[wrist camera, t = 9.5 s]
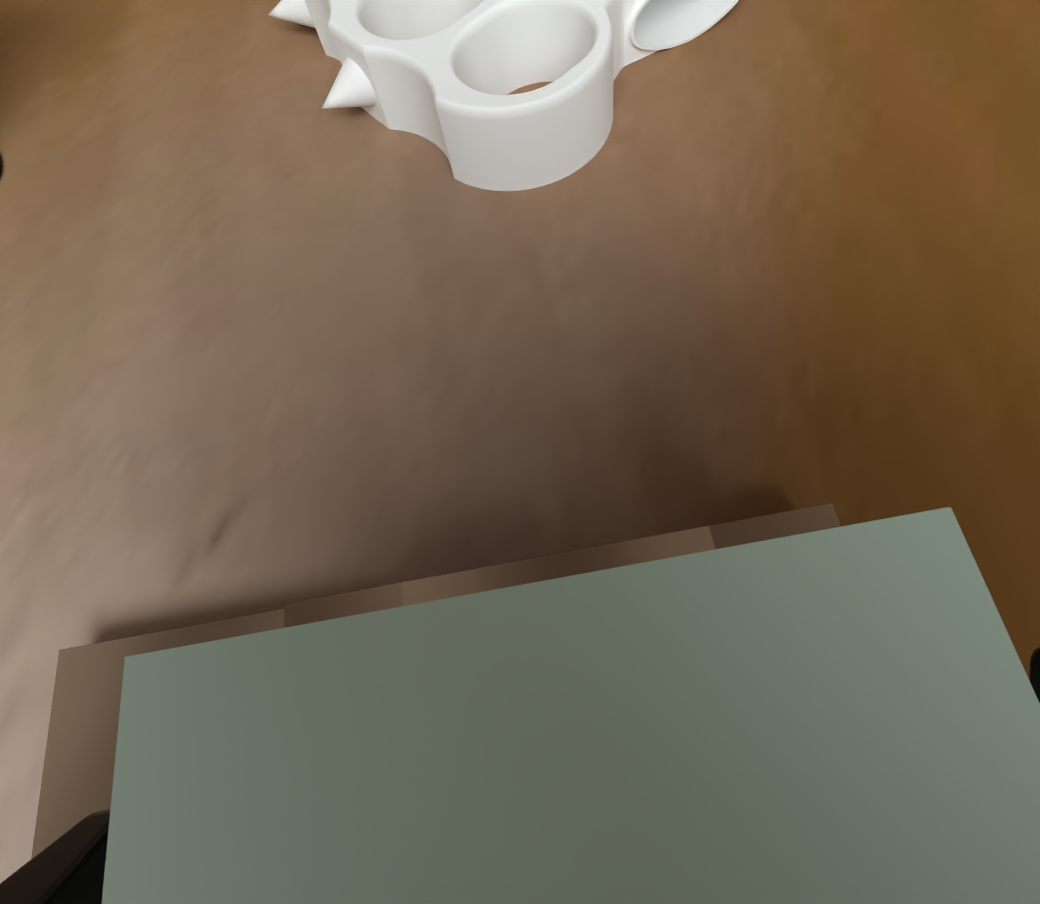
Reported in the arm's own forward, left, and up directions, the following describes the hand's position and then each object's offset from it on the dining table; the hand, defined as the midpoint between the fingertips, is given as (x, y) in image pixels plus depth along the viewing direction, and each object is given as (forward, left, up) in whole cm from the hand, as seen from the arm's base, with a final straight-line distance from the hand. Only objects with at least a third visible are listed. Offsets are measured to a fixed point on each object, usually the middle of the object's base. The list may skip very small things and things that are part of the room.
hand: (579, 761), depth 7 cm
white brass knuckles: (+18, -19, -10) cm, 28 cm away
